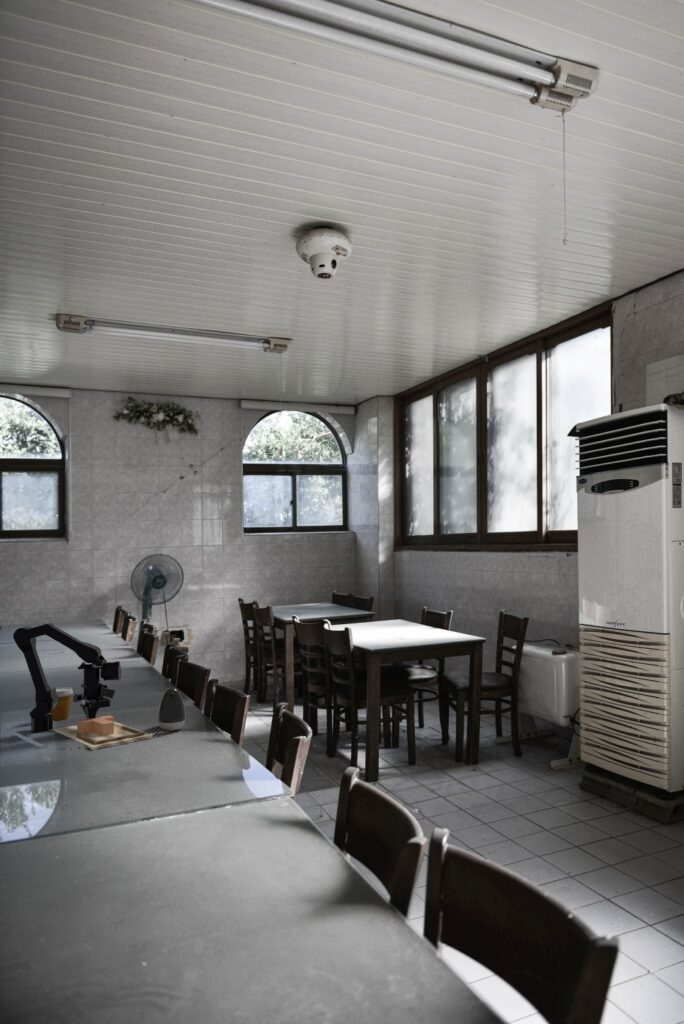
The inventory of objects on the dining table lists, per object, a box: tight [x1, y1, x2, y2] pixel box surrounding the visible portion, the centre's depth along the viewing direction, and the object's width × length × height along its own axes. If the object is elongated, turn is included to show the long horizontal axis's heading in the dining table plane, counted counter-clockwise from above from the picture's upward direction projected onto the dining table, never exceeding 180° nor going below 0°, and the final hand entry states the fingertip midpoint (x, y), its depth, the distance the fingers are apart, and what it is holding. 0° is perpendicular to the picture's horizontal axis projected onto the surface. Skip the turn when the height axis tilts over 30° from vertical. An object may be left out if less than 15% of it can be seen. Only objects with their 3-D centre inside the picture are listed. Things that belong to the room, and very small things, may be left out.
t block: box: [76, 714, 115, 736], centre depth 260 cm, size 12×12×4 cm
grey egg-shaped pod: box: [157, 687, 187, 732], centre depth 267 cm, size 10×10×15 cm
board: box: [52, 721, 154, 751], centre depth 260 cm, size 22×34×2 cm, turn 43°
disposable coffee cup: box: [50, 686, 74, 722], centre depth 284 cm, size 10×10×12 cm
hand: (91, 723), depth 266 cm, fingers closed
